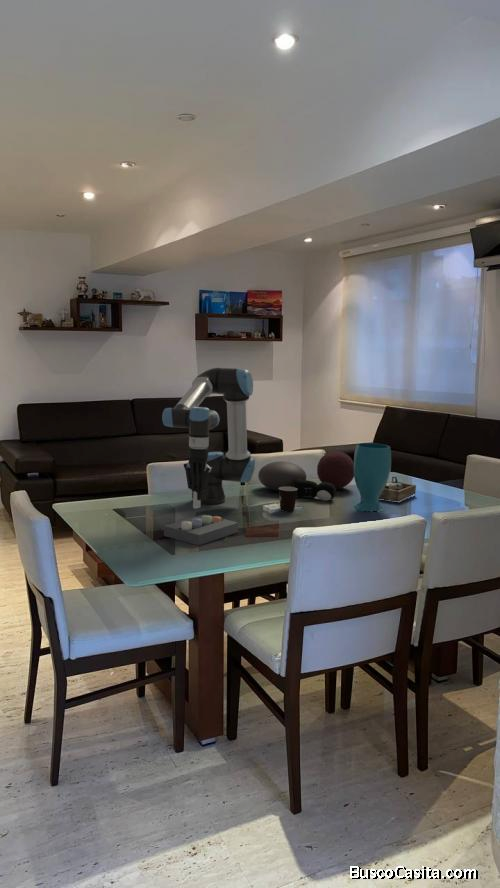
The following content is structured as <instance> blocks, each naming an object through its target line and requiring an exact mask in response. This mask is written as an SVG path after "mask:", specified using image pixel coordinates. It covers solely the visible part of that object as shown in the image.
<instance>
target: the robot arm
mask: <svg viewBox="0 0 500 888" xmlns="http://www.w3.org/2000/svg"><path fill="white" fill-rule="evenodd" d="M253 392H254V379H253V377H252V373H251V372H250V371H249V370H248V369H244V368H235V367H234V368H228V367H214V368H213V367H212V368H209V369H207V370H204V371H203V372H201V373H200V374H199V375H197V376H196V377H195V378H194V380H192V384H191V386H190V388H188V389H187V391H186V392H185V394H184V395H183V397H181V398H180V400H179V401H178V403H176V405H175V406H174V407H166V408H164V409H163V411H162V415H161V416H162V417H161V419H162V424H163V426H165V427H169V428H181V429H182V428H184V429H188V430H189V431H188V433H189V434H188V446H189V447H188V457H189V459H188V462H186V463H183V468H184V469H185V476H186V477H185V478H186V481H187V482H186V483H187V489H189V490H190V491H191V492H192V493H191V499H192V508H193V509H200V508H201V505H218V504H222V503H223V504H224V503H225V502H226V494H225V490H224V487H223V481H226V482H235V483H248V482H250V481H251V480H252V477H253V475H254V470H255V464H256V463H255V462H256V461H255V458H254V457H251V454H252V453H251V452H250V451H249V450H248V435H247V434H248V433H247V426H248V425H247V402H248V401H249V399H250V396H252V395H253ZM213 394H215V395H222V398H223V401H225V402H226V411H227V412H226V415H227V440H228V441H227V442H228V450H227V452H226V453H225V454H224V452H222V451H209V443H210V437H209V436H210V430H213V429H215V428H216V427H217V426H218V425H219V424H220V420H221V419H220V418H221V417H220V415H219V413H218V412H217V411H215V410H212V409H210V408H208V407H205V406H200V405H201V404H202V403H203V401H204V400H205V399H206V398H207V397H209V396H211V395H213Z"/></svg>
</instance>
